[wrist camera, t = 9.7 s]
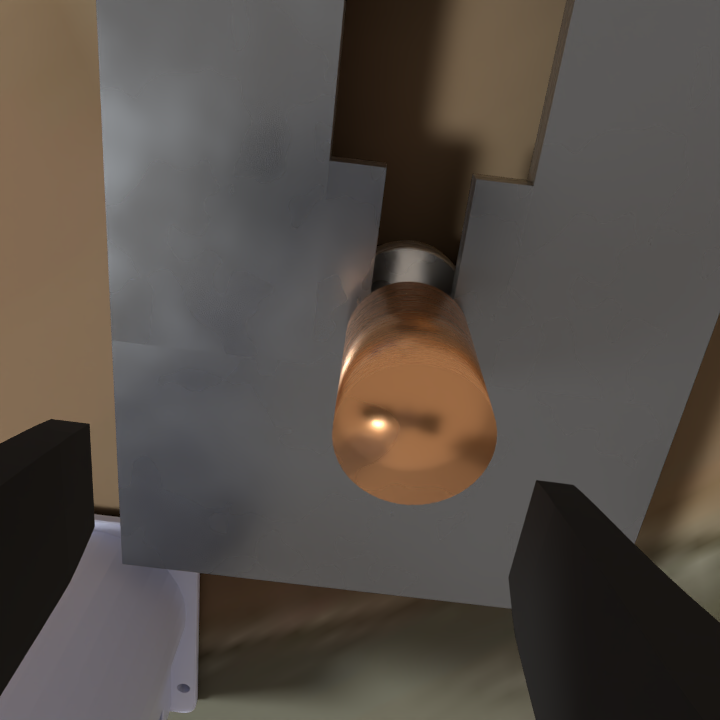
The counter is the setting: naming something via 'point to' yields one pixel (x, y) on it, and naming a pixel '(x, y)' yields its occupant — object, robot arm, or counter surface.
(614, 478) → the keyhole plate
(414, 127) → the counter surface
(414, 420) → the peg
